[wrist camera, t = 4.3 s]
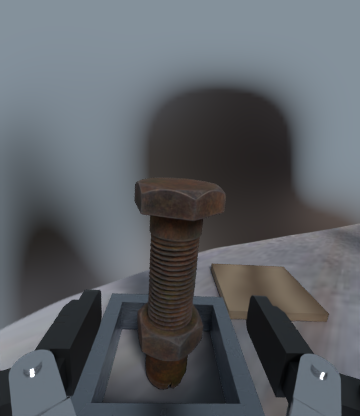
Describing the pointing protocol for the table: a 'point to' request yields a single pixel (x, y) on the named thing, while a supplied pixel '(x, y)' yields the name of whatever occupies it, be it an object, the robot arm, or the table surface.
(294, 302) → the tan pad
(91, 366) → the steel collar
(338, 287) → the table surface
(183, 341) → the bolt
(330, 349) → the table surface
